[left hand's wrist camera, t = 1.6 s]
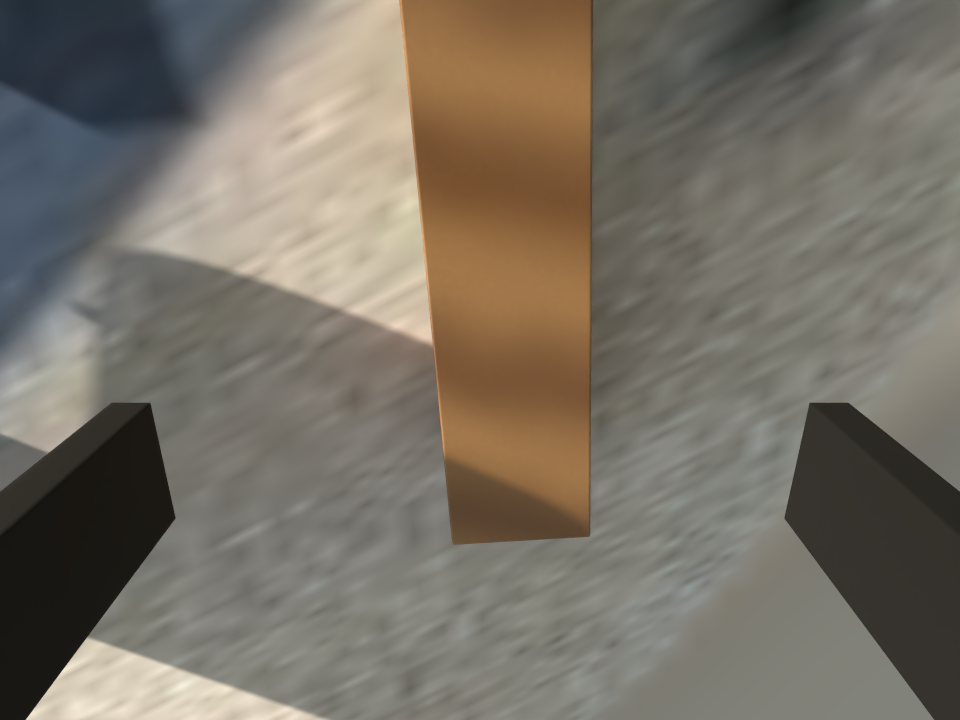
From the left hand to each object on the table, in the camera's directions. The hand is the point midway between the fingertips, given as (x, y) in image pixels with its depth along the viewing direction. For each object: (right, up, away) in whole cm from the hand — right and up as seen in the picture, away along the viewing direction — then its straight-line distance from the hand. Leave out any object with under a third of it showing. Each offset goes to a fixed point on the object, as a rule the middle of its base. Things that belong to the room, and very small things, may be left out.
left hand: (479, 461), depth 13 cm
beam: (-1, +35, +4) cm, 36 cm away
